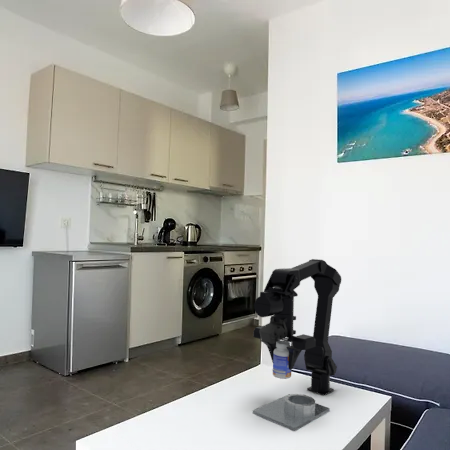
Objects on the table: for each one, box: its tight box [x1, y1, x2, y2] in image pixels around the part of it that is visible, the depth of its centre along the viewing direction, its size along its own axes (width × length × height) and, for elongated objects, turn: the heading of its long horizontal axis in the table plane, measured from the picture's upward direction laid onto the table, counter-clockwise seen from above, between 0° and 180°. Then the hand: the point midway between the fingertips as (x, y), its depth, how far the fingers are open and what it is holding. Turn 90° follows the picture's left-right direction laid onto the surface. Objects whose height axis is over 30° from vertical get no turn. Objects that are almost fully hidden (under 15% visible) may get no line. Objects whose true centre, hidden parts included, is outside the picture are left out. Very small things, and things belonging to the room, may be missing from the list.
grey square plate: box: [252, 393, 331, 432], centre depth 112 cm, size 18×14×4 cm
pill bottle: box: [272, 340, 293, 380], centre depth 114 cm, size 5×5×10 cm
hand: (282, 366), depth 114 cm, fingers closed on pill bottle, 5 cm apart
